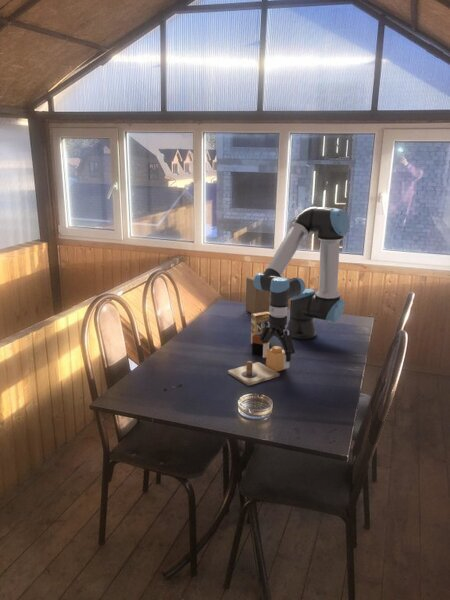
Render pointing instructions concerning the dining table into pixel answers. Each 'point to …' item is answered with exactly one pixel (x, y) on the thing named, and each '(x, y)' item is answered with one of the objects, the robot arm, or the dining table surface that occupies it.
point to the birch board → (253, 373)
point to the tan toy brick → (275, 358)
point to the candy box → (258, 322)
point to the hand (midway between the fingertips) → (275, 362)
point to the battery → (257, 344)
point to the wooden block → (256, 298)
